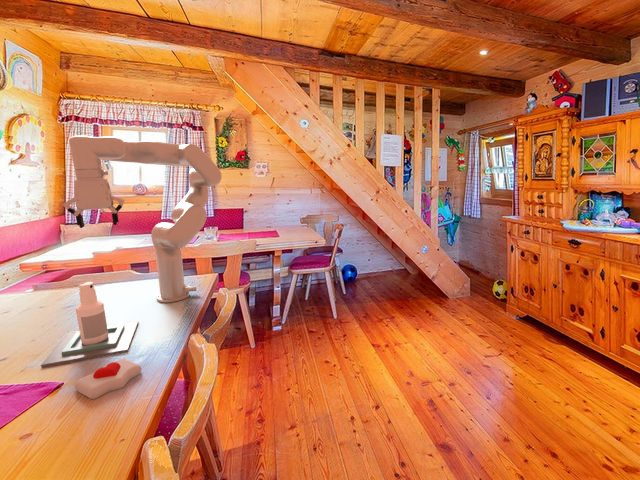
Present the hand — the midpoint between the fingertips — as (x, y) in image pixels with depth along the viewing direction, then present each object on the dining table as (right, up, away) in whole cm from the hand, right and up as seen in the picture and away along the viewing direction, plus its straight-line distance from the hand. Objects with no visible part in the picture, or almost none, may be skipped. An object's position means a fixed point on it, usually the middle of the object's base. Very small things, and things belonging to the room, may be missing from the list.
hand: (99, 225), depth 109 cm
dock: (+8, -36, -12) cm, 39 cm away
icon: (+25, -40, -31) cm, 57 cm away
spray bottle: (+7, -36, -12) cm, 38 cm away
